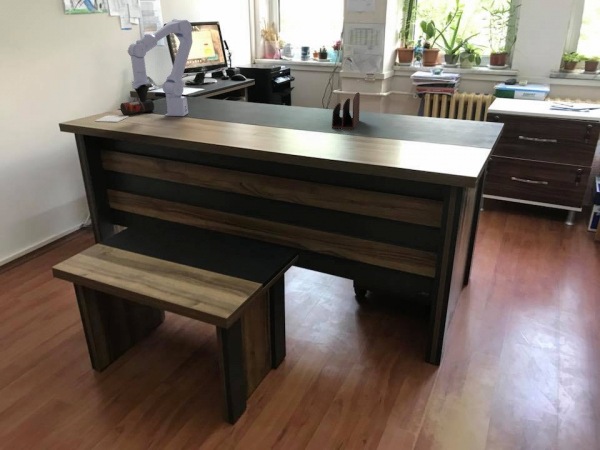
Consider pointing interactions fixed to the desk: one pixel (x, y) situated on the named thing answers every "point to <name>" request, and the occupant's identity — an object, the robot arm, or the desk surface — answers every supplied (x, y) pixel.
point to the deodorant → (137, 107)
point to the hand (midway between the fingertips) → (143, 101)
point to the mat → (111, 118)
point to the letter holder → (346, 114)
